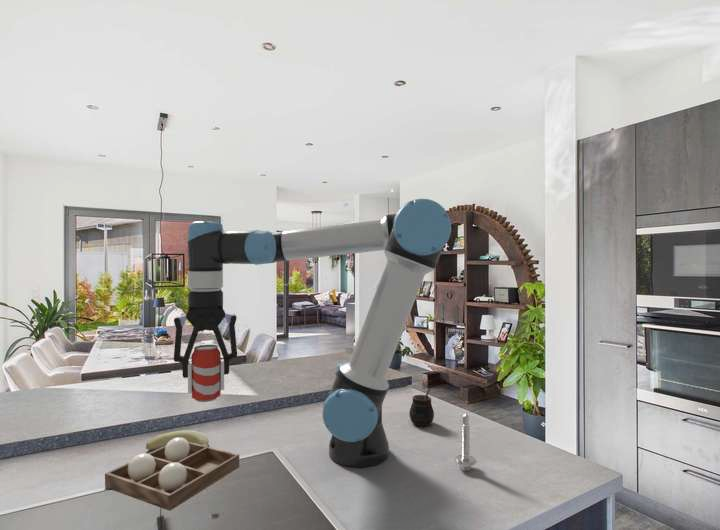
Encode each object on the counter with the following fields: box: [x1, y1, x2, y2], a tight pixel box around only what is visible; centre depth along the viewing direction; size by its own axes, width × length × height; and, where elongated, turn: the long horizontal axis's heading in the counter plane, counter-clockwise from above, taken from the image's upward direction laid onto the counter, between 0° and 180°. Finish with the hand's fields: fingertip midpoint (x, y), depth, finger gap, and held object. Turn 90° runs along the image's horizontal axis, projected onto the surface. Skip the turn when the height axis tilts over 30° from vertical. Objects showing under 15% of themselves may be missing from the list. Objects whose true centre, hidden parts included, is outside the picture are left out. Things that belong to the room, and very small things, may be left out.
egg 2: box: [165, 437, 190, 462], centre depth 106 cm, size 6×6×6 cm
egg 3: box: [158, 462, 187, 492], centre depth 93 cm, size 6×6×6 cm
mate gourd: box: [409, 387, 435, 428], centre depth 131 cm, size 7×8×10 cm
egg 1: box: [128, 452, 156, 481], centre depth 97 cm, size 6×6×6 cm
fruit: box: [145, 429, 210, 451], centre depth 116 cm, size 7×15×3 cm, turn 96°
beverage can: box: [190, 344, 222, 403], centre depth 101 cm, size 6×6×12 cm
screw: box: [454, 413, 477, 472], centre depth 103 cm, size 13×5×5 cm
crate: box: [104, 442, 240, 512], centre depth 99 cm, size 20×20×3 cm
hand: (206, 389), depth 101 cm, fingers closed on beverage can, 6 cm apart
